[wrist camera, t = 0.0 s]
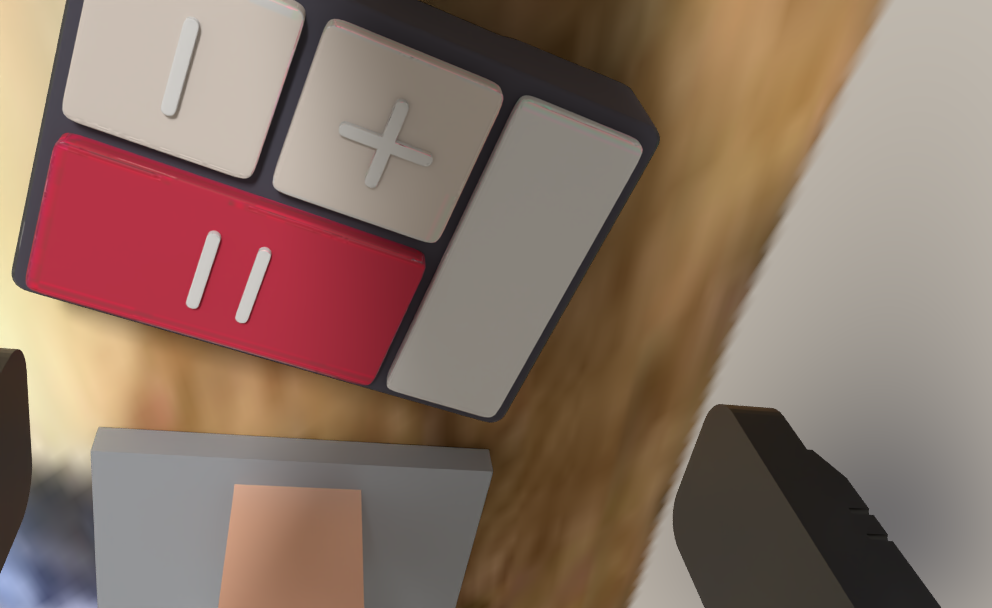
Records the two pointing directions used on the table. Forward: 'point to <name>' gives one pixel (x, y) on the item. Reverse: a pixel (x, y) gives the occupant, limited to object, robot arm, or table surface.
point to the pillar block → (293, 548)
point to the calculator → (328, 186)
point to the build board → (277, 462)
